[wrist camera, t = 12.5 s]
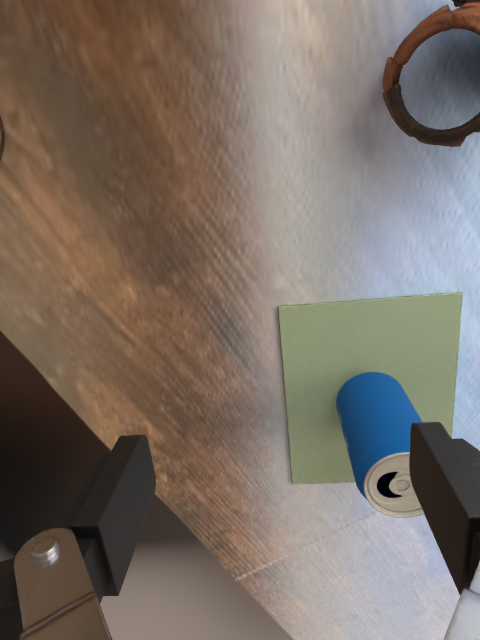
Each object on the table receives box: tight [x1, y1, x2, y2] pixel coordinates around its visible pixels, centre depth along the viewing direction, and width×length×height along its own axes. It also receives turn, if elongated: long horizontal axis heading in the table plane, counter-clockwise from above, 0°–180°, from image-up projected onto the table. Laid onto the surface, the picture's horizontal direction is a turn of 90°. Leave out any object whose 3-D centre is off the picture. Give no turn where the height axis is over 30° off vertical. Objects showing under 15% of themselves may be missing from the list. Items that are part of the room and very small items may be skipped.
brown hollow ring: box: [383, 0, 480, 147], centre depth 28 cm, size 12×10×8 cm
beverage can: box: [336, 372, 424, 518], centre depth 35 cm, size 6×6×12 cm
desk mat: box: [278, 292, 462, 484], centre depth 41 cm, size 16×20×1 cm
